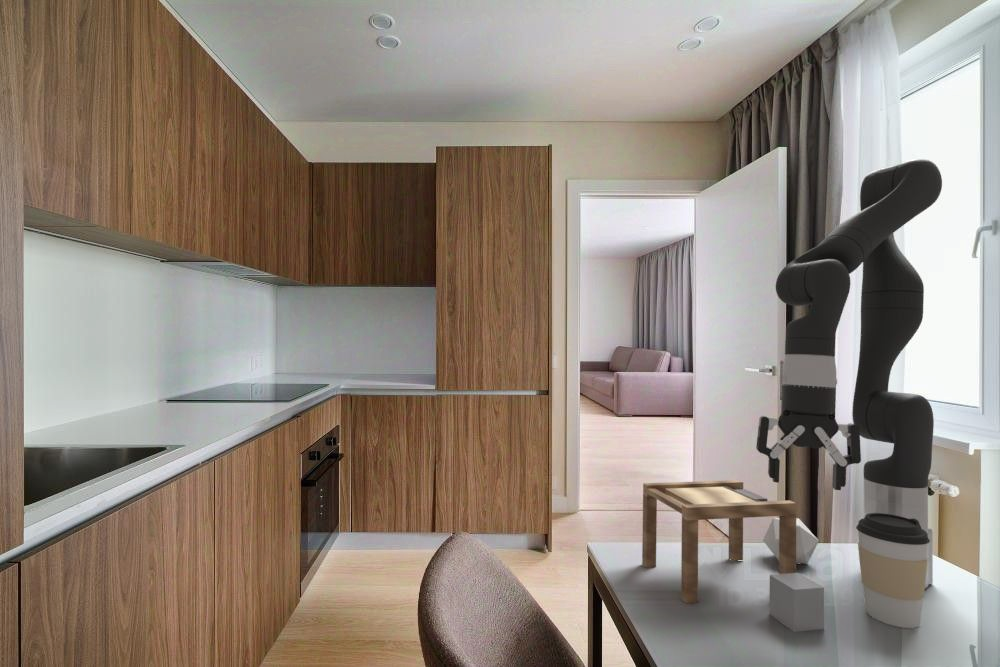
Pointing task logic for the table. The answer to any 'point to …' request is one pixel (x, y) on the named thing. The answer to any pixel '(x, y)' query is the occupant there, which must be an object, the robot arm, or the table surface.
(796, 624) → the grey block
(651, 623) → the table surface
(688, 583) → the frame
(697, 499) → the trapdoor
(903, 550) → the coffee cup
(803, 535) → the die
